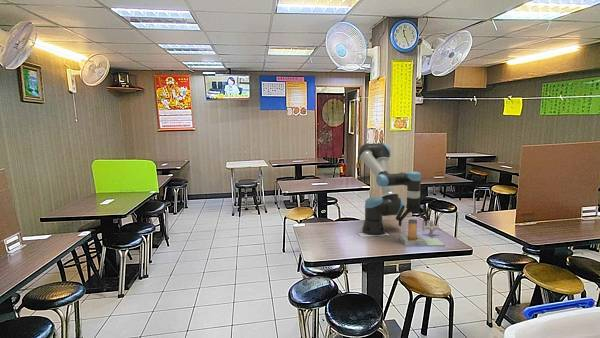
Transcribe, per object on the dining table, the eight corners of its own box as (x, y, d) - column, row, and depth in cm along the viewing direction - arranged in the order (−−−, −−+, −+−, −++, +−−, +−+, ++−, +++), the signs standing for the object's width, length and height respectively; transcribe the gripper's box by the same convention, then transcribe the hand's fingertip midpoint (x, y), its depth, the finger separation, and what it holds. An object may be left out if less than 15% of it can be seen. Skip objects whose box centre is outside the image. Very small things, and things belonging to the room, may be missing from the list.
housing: (399, 239, 200) (399, 234, 199) (418, 238, 199) (418, 234, 199) (405, 246, 188) (405, 241, 187) (425, 245, 187) (425, 241, 187)
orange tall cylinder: (406, 241, 196) (407, 219, 194) (414, 240, 196) (415, 219, 194) (409, 243, 191) (409, 221, 189) (417, 243, 191) (418, 221, 189)
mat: (421, 239, 198) (421, 238, 198) (437, 239, 197) (437, 238, 197) (427, 246, 187) (427, 245, 187) (444, 246, 186) (444, 244, 186)
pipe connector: (440, 238, 200) (441, 223, 199) (424, 237, 202) (424, 222, 201) (437, 233, 210) (438, 218, 208) (421, 232, 212) (422, 217, 210)
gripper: (394, 198, 186) (393, 233, 189) (436, 198, 186) (435, 232, 188) (391, 196, 194) (390, 229, 197) (431, 195, 193) (430, 229, 196)
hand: (412, 231), depth 192 cm, fingers open, 13 cm apart
